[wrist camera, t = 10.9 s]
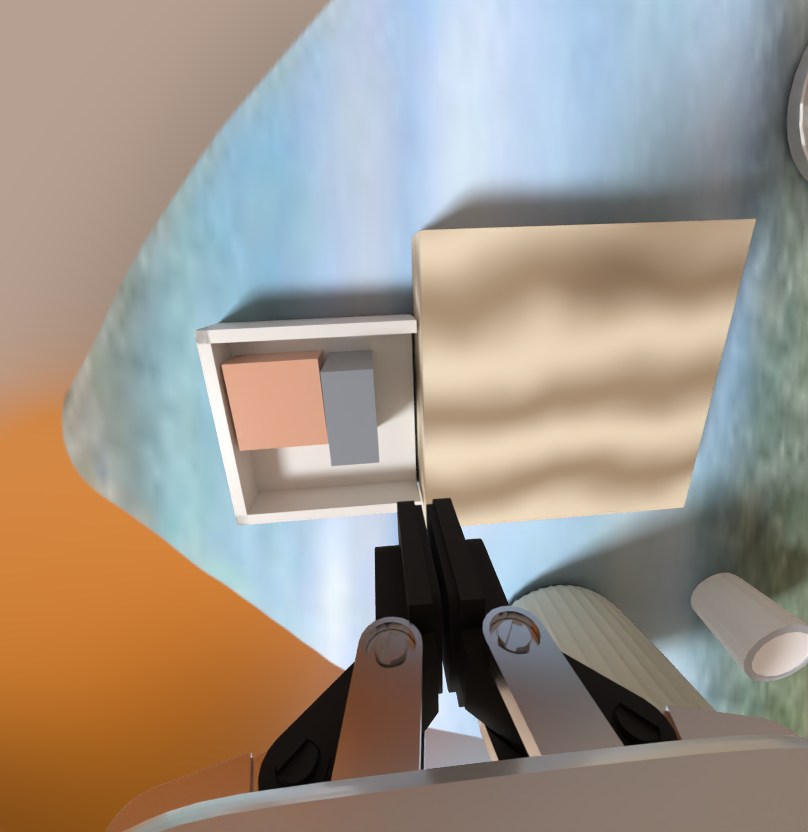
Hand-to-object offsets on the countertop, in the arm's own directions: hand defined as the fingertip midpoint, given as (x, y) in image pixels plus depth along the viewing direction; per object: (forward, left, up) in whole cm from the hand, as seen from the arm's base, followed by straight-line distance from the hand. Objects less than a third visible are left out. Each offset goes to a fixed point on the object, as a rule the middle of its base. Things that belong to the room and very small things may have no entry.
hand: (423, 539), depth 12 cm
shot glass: (+25, +33, -19) cm, 45 cm away
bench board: (0, +12, -19) cm, 22 cm away
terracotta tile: (0, -8, -15) cm, 17 cm away
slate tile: (0, -1, -15) cm, 15 cm away
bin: (+2, -5, -19) cm, 20 cm away
